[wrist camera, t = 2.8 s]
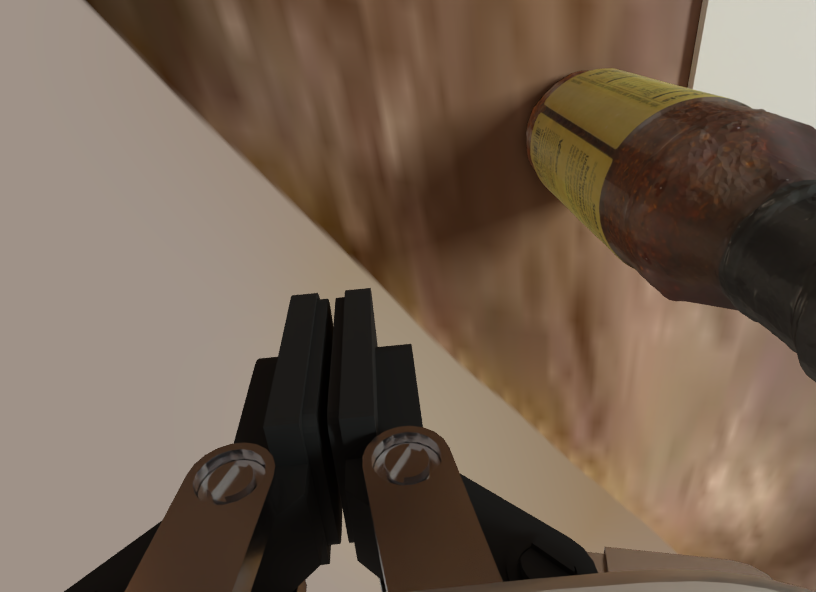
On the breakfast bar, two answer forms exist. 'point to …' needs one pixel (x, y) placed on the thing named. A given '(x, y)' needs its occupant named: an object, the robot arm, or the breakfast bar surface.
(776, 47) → the mat
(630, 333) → the breakfast bar surface
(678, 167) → the sauce bottle
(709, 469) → the breakfast bar surface
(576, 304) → the breakfast bar surface
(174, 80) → the breakfast bar surface
